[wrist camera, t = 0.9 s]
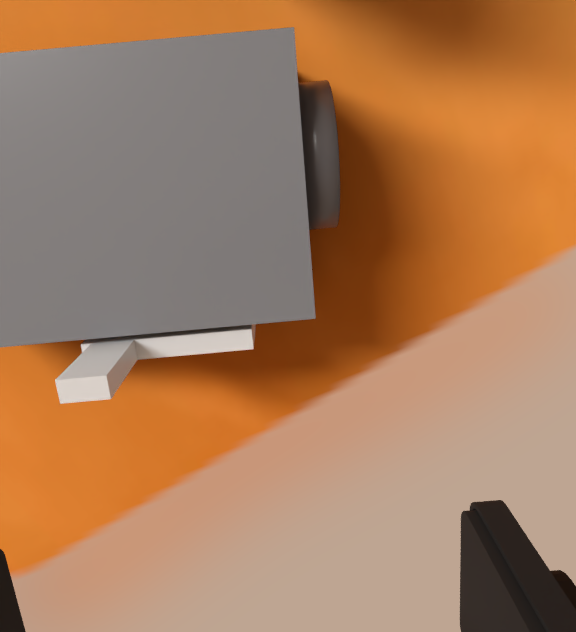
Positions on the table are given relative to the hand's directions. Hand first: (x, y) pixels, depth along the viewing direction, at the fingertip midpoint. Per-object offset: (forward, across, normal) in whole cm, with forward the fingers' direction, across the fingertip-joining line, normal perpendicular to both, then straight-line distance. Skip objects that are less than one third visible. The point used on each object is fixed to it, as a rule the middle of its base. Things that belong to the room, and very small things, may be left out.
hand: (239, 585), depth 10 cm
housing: (+24, +8, -7) cm, 26 cm away
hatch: (+23, +4, 0) cm, 23 cm away
